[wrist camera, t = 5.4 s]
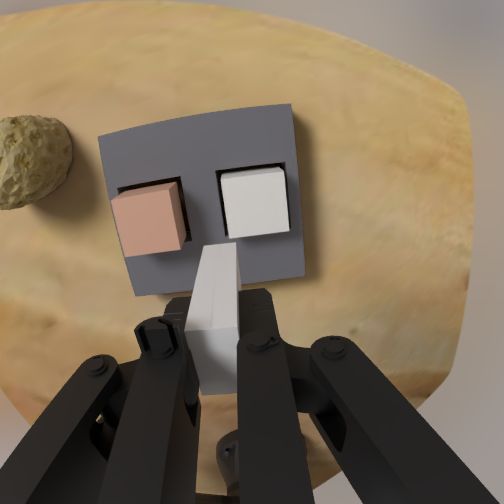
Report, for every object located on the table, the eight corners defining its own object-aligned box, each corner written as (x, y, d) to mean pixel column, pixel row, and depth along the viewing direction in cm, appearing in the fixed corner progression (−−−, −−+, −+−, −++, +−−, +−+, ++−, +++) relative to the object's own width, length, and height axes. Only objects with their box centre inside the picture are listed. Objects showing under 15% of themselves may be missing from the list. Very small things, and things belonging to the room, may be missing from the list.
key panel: (299, 263, 33) (305, 276, 30) (142, 282, 33) (135, 296, 30) (285, 105, 27) (290, 103, 24) (109, 135, 27) (97, 136, 24)
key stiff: (186, 235, 29) (180, 249, 25) (136, 242, 29) (124, 257, 25) (176, 181, 27) (168, 189, 24) (124, 191, 27) (110, 200, 24)
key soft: (283, 218, 30) (289, 231, 26) (230, 225, 30) (229, 238, 26) (278, 166, 28) (283, 171, 24) (222, 173, 28) (220, 179, 24)
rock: (66, 199, 33) (68, 222, 25) (-17, 198, 26) (-39, 222, 19) (77, 119, 30) (81, 115, 22) (-9, 115, 23) (-32, 112, 16)
